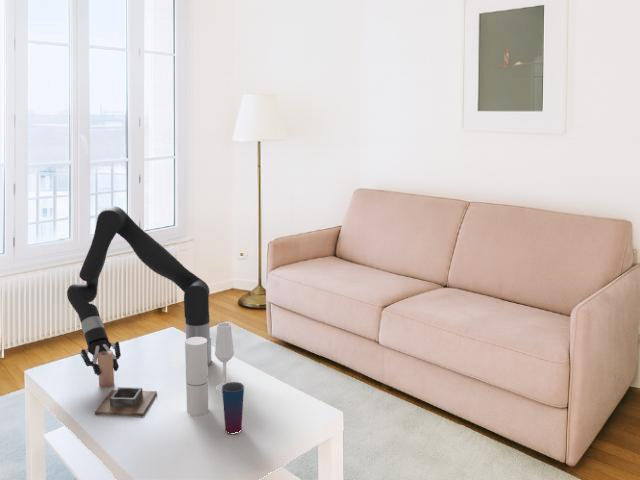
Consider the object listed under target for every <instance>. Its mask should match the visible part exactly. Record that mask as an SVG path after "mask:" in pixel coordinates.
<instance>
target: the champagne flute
mask: <svg viewBox="0 0 640 480" xmlns="http://www.w3.org/2000/svg"><path fill="white" fill-rule="evenodd" d="M232 332H233V331H232V325H231V323H229V322H220V323H219V322H218V323H217V325H216V336H215V348H214V350H215V351H214V356H215V357H216V359H218V361H220V362H221V363H222V378H223V379H222V382H221V383H218V384H217V385H216V386H215V388H216V387H217V389H218V390H217V389H216V390H217V391H219V390H222V386H223V385H224V384H226V383H229V382H227V363H229V361H231V359H232V358H233V357H234V355H235V351H234V350H235V349H234V342H233V333H232Z"/></svg>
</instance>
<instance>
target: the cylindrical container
mask: <svg viewBox="0 0 640 480" xmlns="http://www.w3.org/2000/svg"><path fill="white" fill-rule="evenodd" d="M184 351H185V352H184V353H185V354H184V356H185V381H186V382H185V383H186V384H185V385H186V386H185V387H186V391H185V393H186V412H187V414H188V415H190V416H195V417H196V416H197V417H199V416H203V414H204V415H205V413H206V414H207V413H208V412H209V410H210V409H209V374H208V373H209V372H208V369H209V368H208V367H209V366H208V356H207V339H206V338H204V337H191V338H188V339H186V338H185V340H184Z"/></svg>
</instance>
